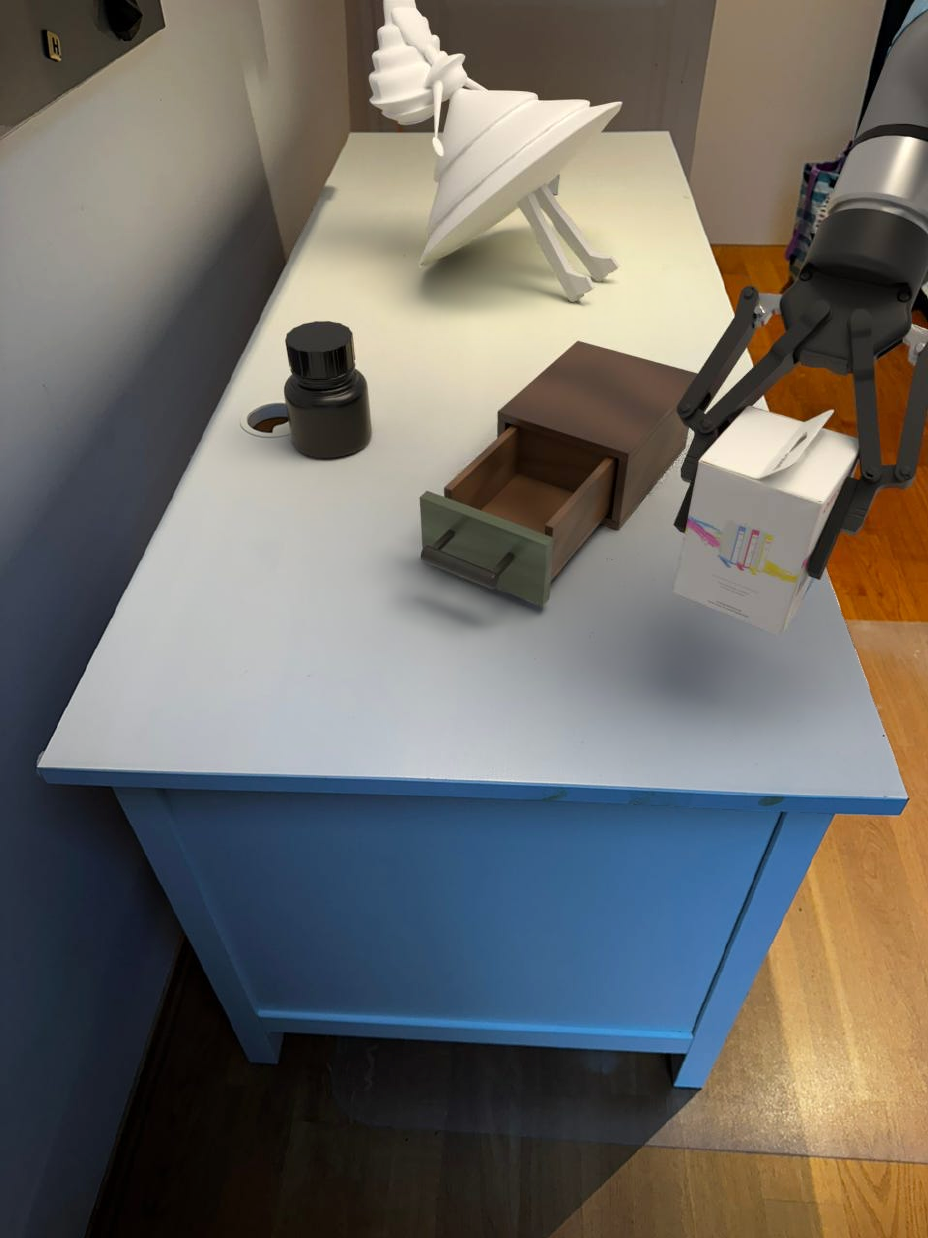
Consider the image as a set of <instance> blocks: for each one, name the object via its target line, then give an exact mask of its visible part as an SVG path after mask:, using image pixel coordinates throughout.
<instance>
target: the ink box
mask: <svg viewBox="0 0 928 1238" xmlns="http://www.w3.org/2000/svg"><path fill="white" fill-rule="evenodd" d="M834 413H835V410H834V409H829V410H827V411H824V412H822V413H820V414H819V415H816V416H814V417H812V418H810V419H808V420H806V421H801V420H798V419H796V418H793V417H789V416H786V415H782V414H779V413H776V412H772V411H770V410H765V409H763V408H759V407H756V406H754V405H753V406H748V407H746V408H745V409H744V410H743V411H742V412H741V414H740V415H739V416H738V417H737V418H736V419H735V420H734V421H733V422H732V424H731V425H730V426H729V427H728V428H727V429H726V430H725V431H724V432H723V433H722V435H721V436H720V437H719V438H718V439H717V440H716V441H715V442H714V444H713V445H712V446H711V447H710V448H709V449H708V450H707V451H706V452H705V454H704V455H703V456H702V457H701V458H700V460H699V461H698V469H697V474H696V479H695V484H694V489H693V494H692V500H691V505H690V510H689V514H688V519H687V525H686V530H685V534H683V535H684V536H683V540H682V544H681V545H682V546H681V551H680V554H679V558H678V563H677V568H676V574H675V579H674V584H673V589H672V591H673V593H674V594H676V595H679V596H682V597H683V598H686V599H689V600H691V601H694V602H696V603H698V604H701V605H703V606H706V607H707V608H711V609H713V610H715V611H718V612H720V613H723V614H725V615H728V616H731V617H733V618H735V619H737V620H740V621H743V622H745V623H747V624H750V625H753V626H754V627H757V628H760V629H762V630H765V631H768V632H770V633H773V634H774V635H777V636H780V635H783V634H784V633H785V630H786V629H787V628H788V626H789V624H790V623H791V621H792V619H793V617H794V616H795V614H796V613H797V611H798V609H799V607H800V606H801V604H802V603H803V600H804V598H805V596H806V595H807V593H808V591H809V589H810V588H811V586H812V584H813V582H814V581H815V580H816V579H815V578H812V577H809V575H808V571H807V570H808V568H809V565H810V563H811V561H812V558H813V556H814V553H815V551H816V549H817V546H818V544H819V542H820V539H821V537H822V534H823V532H824V530H825V527H826V525H827V522H828V520H829V518H830V515H831V513H832V511H833V508H834V506H835V503H836V501H837V499H838V496H839V494H840V492H841V489H842V487H843V484H844V482H845V480H846V477H847V476H849V477H852V478H854V475H855V473H856V469H857V466H858V463H859V452H860V451H859V442H858V437H856V436H853V435H850V434H846V433H841V432H838V431H834V430H831V429H828V428H824V426H825V424H826V423H827V422H828V421H829V419H830V418H831V417H832V415H833V414H834Z"/></svg>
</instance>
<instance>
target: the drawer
mask: <svg viewBox="0 0 928 1238" xmlns="http://www.w3.org/2000/svg"><path fill="white" fill-rule="evenodd" d="M618 464H619V459H618V458H615V457H612V456H608V455H605V454H602V453H599V452H596V451H593V450H590V449H587V448H584V447H581V446H578V445H574V444H571V443H568V442H565V441H562V440H559V439H556V438H553V437H550V436H547V435H544V434H541V433H537V432H534V431H531V430H528V429H525V428H522V427H519V426H516V425H513V424H512V425H511V426H510V427H509V428H508V429H507V430H506V431H505V432H504V433H503V434H501V435H500V436H499V437H498V438H497V437H496V439H494V441H492V443H490V444H489V445H488V446H487V447H486V448H485V449H484V450H483V451H482V452H481V453H479V454H478V455H477V456H476V457H475V458H474V459H473V460H472V461H470V463H469V464H468V465H467V466H465V467H464V468H463V469H462V470H461V471H460V472H458V474H457V475H456V476H455V477H453V478H452V479H451V480H450V481H449V482H448V483H447V484H446V485H445V486H444V487H443V495H440V494H437V493H435V492H433V491H430V490H426V491H425V492H424V493H423V494H421V495H420V496H419V512H420V513H419V514H420V527H421V528H420V530H421V546H422V548H421V552H420V556H419V557H420V561H422V562H424V563H426V564H429V565H432V566H434V567H437V568H438V569H442V570H444V571H446V572H449V573H451V574H453V575H456V576H457V577H461V578H463V579H466V580H467V581H470V582H473V583H475V584H478V585H480V586H482V587H484V588H487V589H489V590H493V589H498V590H500V591H503V592H505V593H508V594H511V595H513V596H516V597H518V598H520V599H523V600H524V601H525V600H526V601H528V602H530V603H533V604H535V605H538V606H540V607H544V606H545V605H546V603H547V602H548V601H549V599H550V594H551V593H550V592H551V582H552V581H553V580H554V579H555V577H556V576H557V575H558V574H559V573H560V572H561V570H562V569H563V568H564V566H565V565H566V564H567V563H568V562H569V561H570V559H571V558H572V557H573V556H574V555H575V554H576V552H577V551H578V550H579V549H580V547H582V545H583V544H584V543H585V542H586V541H587V539H588V538H589V537H590V536H591V534H593V532H594V531H595V530H596V529H597V528H598V526H599V525H601V524H600V522H601V521H602V520H603V519H604V518H605V517H606V515H607V514H608V513H609V512H610V511H611V509H612V508H613V503H614V495H615V488H616V480H617V472H618Z"/></svg>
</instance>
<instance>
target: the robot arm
mask: <svg viewBox="0 0 928 1238" xmlns="http://www.w3.org/2000/svg"><path fill="white" fill-rule="evenodd" d="M824 215H825V217H824V218H823V219H822V220H821V221H820V222H819V224H818V227H817V229H816V232H815V234H814V236H813V239H812V241H811V244H810V246H809V249H808V251H807V254H806V256H805V258H804V261H803V263H802V266H801V268H800V270H799V273H798V275H797V277H796V279H795V281H794V282H793V283H792V285H791V286H789V288H787V289H786V290H785V291H784V292H783V293H782V294H777V293H767V292H766V293H765V292H759V290H758V288H757V287H756V286H754V285H747V286H744V287H743V288H742V289H741V291H740V293H739V297H738V300H737V305H736V309H735V312H734V317H733V318H732V320H731V321H730V323H729V325H728V327H727V328H726V329H725V331H724V332H723V334H722V335H721V337H720V339H719V340H718V341H717V343H716V345H715V347H714V348H713V350H712V351H711V352H710V354H709V356H708V357H707V359H706V360H705V362H704V363H703V365H702V366H701V368H700V369H699V371H698V372H697V373H698V374H697V376H696V377H695V379H694V380H693V382H692V384H691V385H690V387H689V388H688V390H687V391H686V393H685V394H684V396H683V397H682V399H681V401H680V402H679V404H678V405H677V413H678V415H679V417H680V419H681V420H682V422H683V424H684V425H685V426H687V427H689V430H691V431H693V437H692V439H691V440H692V441H691V443H690V445H689V447H688V450H687V452H686V456H684V460H683V462H682V465H681V467H680V478H681V480H682V481H683V482H684V483H687V484H689V485H688V488H687V490H686V492H685V496H684V497H683V500H682V502H681V504H680V507H679V510H678V512H677V514H676V517H675V520H674V522H673V524H672V525H673V526H674V527H675V528H676V529H677V531H678V532H679V533H682V534H683V535H685V530H686V525H687V519H688V514H689V510H690V505H691V500H692V494H693V489H694V484H695V479H696V474H697V469H698V461H699V460H700V458H701V457H702V456H703V455H704V454H705V452H706V451H707V450H708V449H709V448H710V447H711V446H712V445H713V444H714V442H715V441H716V440H717V439H718V438H719V437H720V436H721V435H722V433H723V432H724V431H725V430H726V429H727V428H728V427H729V426H730V425H731V424H732V422H733V421H734V420H735V419H736V418H737V417H738V416H739V415H740V414H741V412H742V411H743V410H744V409H745V408H746V407H748V406H754V405H755V404H756V403H757V402H758V401H759V400H761V398H762V397H763V396H765V395H766V394H767V393H768V392H769V391H770V390H771V389H772V388H773V387H774V386H775V385H776V384H777V383H778V382H779V381H780V380H781V379H782V378H783V377H784V376H787V375H789V374H790V373H791V372H793V370H794V369H795V368H797V366H799V365H801V366H803V367H807V368H811V369H815V368H816V369H826V370H828V371H830V372H831V373H832V374H835V375H839V376H843V377H848V375H851V376H852V387H853V398H854V410H855V411H854V412H855V423H856V434H857V435H856V436H857V437H856V438H858V442H859V451H860V452H859V461H858V463H859V474H860V477H859V478H855V477H853V478H852V477H849V476H847V477H846V480H845V482H844V484H843V487H842V489H841V492H840V494H839V496H838V499H837V501H836V503H835V506H834V508H833V511H832V513H831V515H830V518H829V520H828V522H827V525H826V527H825V530H824V532H823V534H822V537H821V539H820V542H819V544H818V546H817V549H816V551H815V553H814V556H813V558H812V561H811V563H810V565H809V568H808V570H807V571H808V575H809V577H812V578H815V579H814V580H819V581H821V579H822V577H823V574H824V572H825V570H826V567H827V564H828V562H829V560H830V557H831V555H832V553H833V551H834V549H835V545H836V544H837V541H838V539H839V536H840V534H841V533H844V534H846V535H850V536H853V537H855V536H856V535H857V534H858V533H859V532H860V531H861V530H862V528H863V525H864V523H865V521H866V518H867V516H868V514H869V512H870V509H871V506H872V504H873V502H874V500H875V497H876V496H877V494H878V493H879V492H881V491H882V490H885V489H899V490H902V491H903V490H907V489H909V488H910V487H911V486H912V485H913V484H914V480H915V477H916V474H917V470H918V469H917V468H918V463H919V458H920V453H921V448H922V442H923V437H924V431H925V426H926V421H927V415H928V329H927V328H925V327H922V326H919V325H916V324H915V323H914V324H913V317H912V308H913V306H914V303H915V301H916V298H917V296H918V294H919V291H920V289H921V286H922V284H923V282H924V280H925V277H926V274H927V273H928V0H914V1H913V2H912V4H911V6H910V7H909V10H908V12H907V14H906V15H905V18H904V20H903V22H902V24H901V27H900V28H899V30H898V31H897V32H896V34H895V35H894V37H893V38H892V41H891V46H889V48H888V50H887V53H886V56H885V59H884V64H883V67H882V69H881V71H880V74H879V77H878V79H877V82H876V85H875V87H874V90H873V92H872V94H871V97H870V100H869V102H868V105H867V108H866V110H865V113H864V115H863V117H862V120H861V123H860V125H859V128H858V130H857V133H856V135H855V138H854V140H853V143H852V145H851V148H850V151H849V152H848V155H847V157H846V159H845V162H844V164H843V166H842V168H841V171H840V174H839V175H838V177H837V180H836V183H835V185H834V188H833V190H832V191H831V195H830V197H829V200H828V202H827V203H826V206H825V211H824ZM775 315H780V317H781V320H782V325H783V327H784V331H785V332H784V333H783V334H782V335H781V336H780V337H779V338H778V339H777V340H776V341H774V342H773V344H772V345H771V347H770V349H769V351H768V352H767V353H766V354H765V355H764V356H763V357H762V358H761V359H760V360H759V361H757V363H756V364H755V365H754V366H752V367H751V369H750V370H748V371H747V372H746V373H745V375H744V376H743V377H741V378H740V379H739V380H738V381H737V382H736V383H735V384H734V385H733V386H732V387H731V388H730V389H729V390H728V391H727V392H726V393H725V394H724V395H723V396H722V397H721V398H720V399H719V400H718V401H716V403H715V404H713V406H712V407H711V408H710V409H709V410H708V411H707V409H708V408H709V406H710V405H711V404H712V402H713V400H714V399H715V397H716V395H718V393H719V391H720V389H721V388H722V387H723V385H724V383H725V382H726V380H727V379H728V377H729V376H730V374H731V373H732V371H733V369H734V368H735V366H736V365H737V364H738V362H739V361H740V359H741V357H742V356H743V354H744V352H745V351H746V349H747V348H748V347H749V345H750V343H751V341H752V340H753V337H754V335H755V333H756V331H757V328H758V329H759V328H763V327H764V326H766V325H767V324H768V322H769V321H770V319H771V318H772V317H773V316H775ZM903 344H905V345H906V346H907V347H908V354H907V361H908V362H909V364H910V365H912V366H914V369H913V372H912V377H911V382H910V387H909V391H908V398H907V403H906V409H905V414H904V419H903V425H902V429H901V430H902V431H901V435H900V440H899V445H898V446H899V447H898V451H897V458H896V462H895V464H883V462H882V461H883V460H882V450H881V437H880V425H879V413H878V400H877V389H876V376H875V373H876V371H875V362H877V361H878V360H880V359H881V358H883V357H884V356H886V355H887V354H888V353H890V352H891V351H893V350H895V349H896V348H898V347H899V346H901V345H903ZM706 411H707V412H706Z"/></svg>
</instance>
